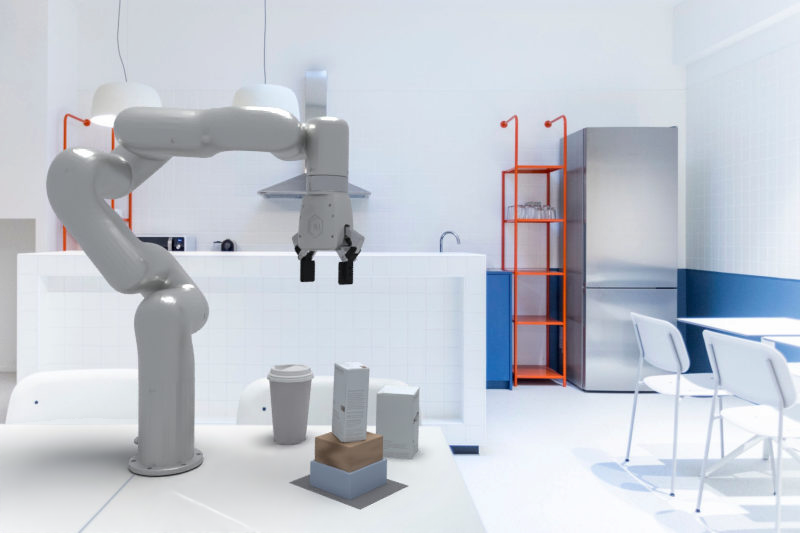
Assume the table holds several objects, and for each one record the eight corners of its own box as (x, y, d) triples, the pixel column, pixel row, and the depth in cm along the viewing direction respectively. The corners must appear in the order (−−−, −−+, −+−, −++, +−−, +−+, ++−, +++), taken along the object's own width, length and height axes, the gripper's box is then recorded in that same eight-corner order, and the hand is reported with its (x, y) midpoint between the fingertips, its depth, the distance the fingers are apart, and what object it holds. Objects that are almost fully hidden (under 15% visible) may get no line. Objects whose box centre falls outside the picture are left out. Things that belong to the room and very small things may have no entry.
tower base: (310, 485, 100) (310, 461, 100) (347, 470, 107) (347, 447, 107) (349, 499, 94) (350, 474, 94) (386, 482, 101) (387, 459, 101)
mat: (288, 484, 101) (288, 482, 101) (339, 465, 110) (339, 463, 110) (359, 511, 91) (360, 509, 91) (408, 488, 100) (408, 485, 100)
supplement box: (412, 462, 113) (413, 394, 113) (374, 458, 114) (375, 392, 114) (419, 449, 120) (420, 386, 120) (383, 446, 122) (384, 383, 121)
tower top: (314, 461, 100) (314, 437, 100) (347, 449, 106) (348, 426, 106) (350, 472, 95) (350, 447, 95) (382, 459, 101) (383, 435, 101)
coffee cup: (295, 429, 131) (295, 361, 131) (322, 440, 125) (323, 367, 124) (257, 439, 125) (257, 366, 124) (284, 450, 118) (284, 374, 118)
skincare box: (330, 433, 102) (331, 361, 102) (355, 430, 104) (356, 360, 104) (343, 444, 97) (344, 368, 96) (369, 440, 98) (370, 366, 98)
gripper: (279, 188, 111) (278, 281, 112) (348, 183, 100) (346, 286, 101) (309, 192, 117) (308, 280, 117) (377, 187, 106) (375, 284, 107)
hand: (326, 283), depth 109 cm, fingers open, 9 cm apart
